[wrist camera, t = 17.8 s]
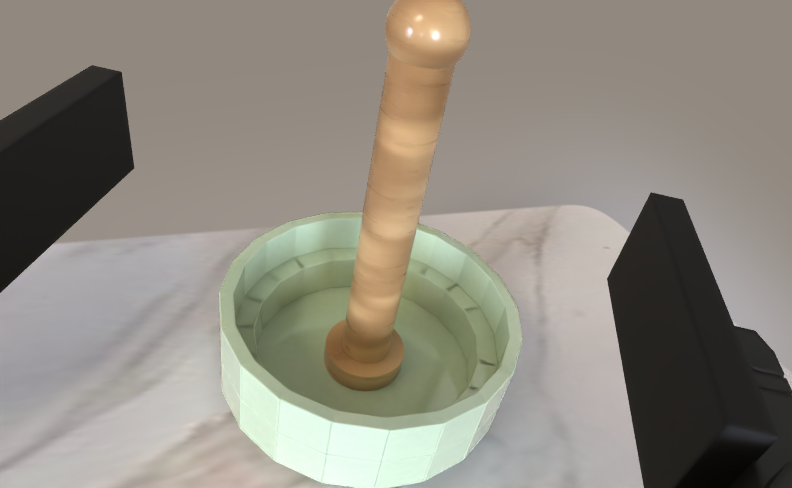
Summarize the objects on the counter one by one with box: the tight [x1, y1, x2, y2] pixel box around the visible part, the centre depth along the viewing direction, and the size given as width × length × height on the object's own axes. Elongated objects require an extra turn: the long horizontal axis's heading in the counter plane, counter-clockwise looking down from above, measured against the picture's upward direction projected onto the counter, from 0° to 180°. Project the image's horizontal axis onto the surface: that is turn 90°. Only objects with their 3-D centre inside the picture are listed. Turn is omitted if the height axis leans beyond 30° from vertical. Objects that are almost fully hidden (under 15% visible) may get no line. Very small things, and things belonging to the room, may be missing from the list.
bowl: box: [219, 212, 523, 488], centre depth 32 cm, size 15×15×6 cm
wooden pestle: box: [324, 0, 471, 391], centre depth 27 cm, size 4×4×20 cm
